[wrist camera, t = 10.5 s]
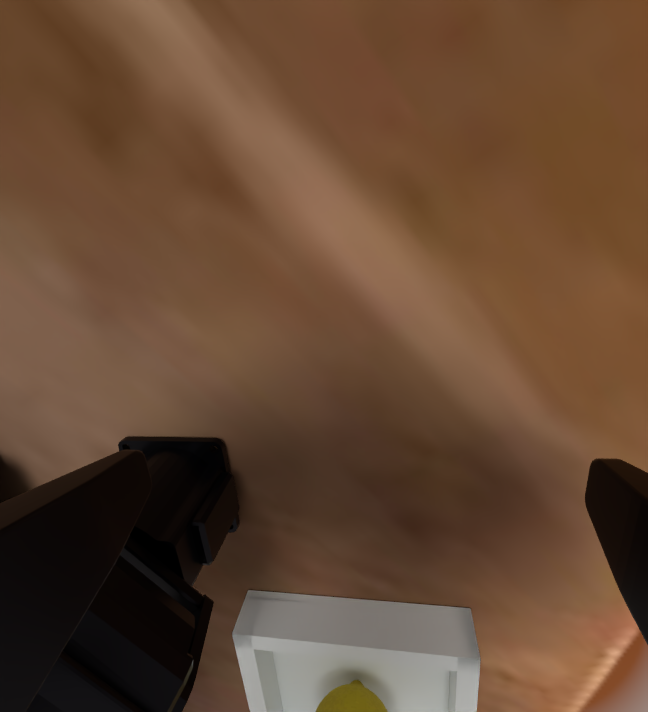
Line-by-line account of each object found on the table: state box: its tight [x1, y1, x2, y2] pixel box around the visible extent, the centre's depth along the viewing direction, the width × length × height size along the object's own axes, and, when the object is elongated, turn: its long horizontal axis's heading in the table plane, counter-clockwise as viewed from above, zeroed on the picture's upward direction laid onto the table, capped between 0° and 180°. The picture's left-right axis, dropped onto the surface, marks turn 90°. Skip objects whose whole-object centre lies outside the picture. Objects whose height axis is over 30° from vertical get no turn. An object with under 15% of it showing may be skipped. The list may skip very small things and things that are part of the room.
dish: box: [232, 590, 481, 712], centre depth 27 cm, size 14×14×3 cm
